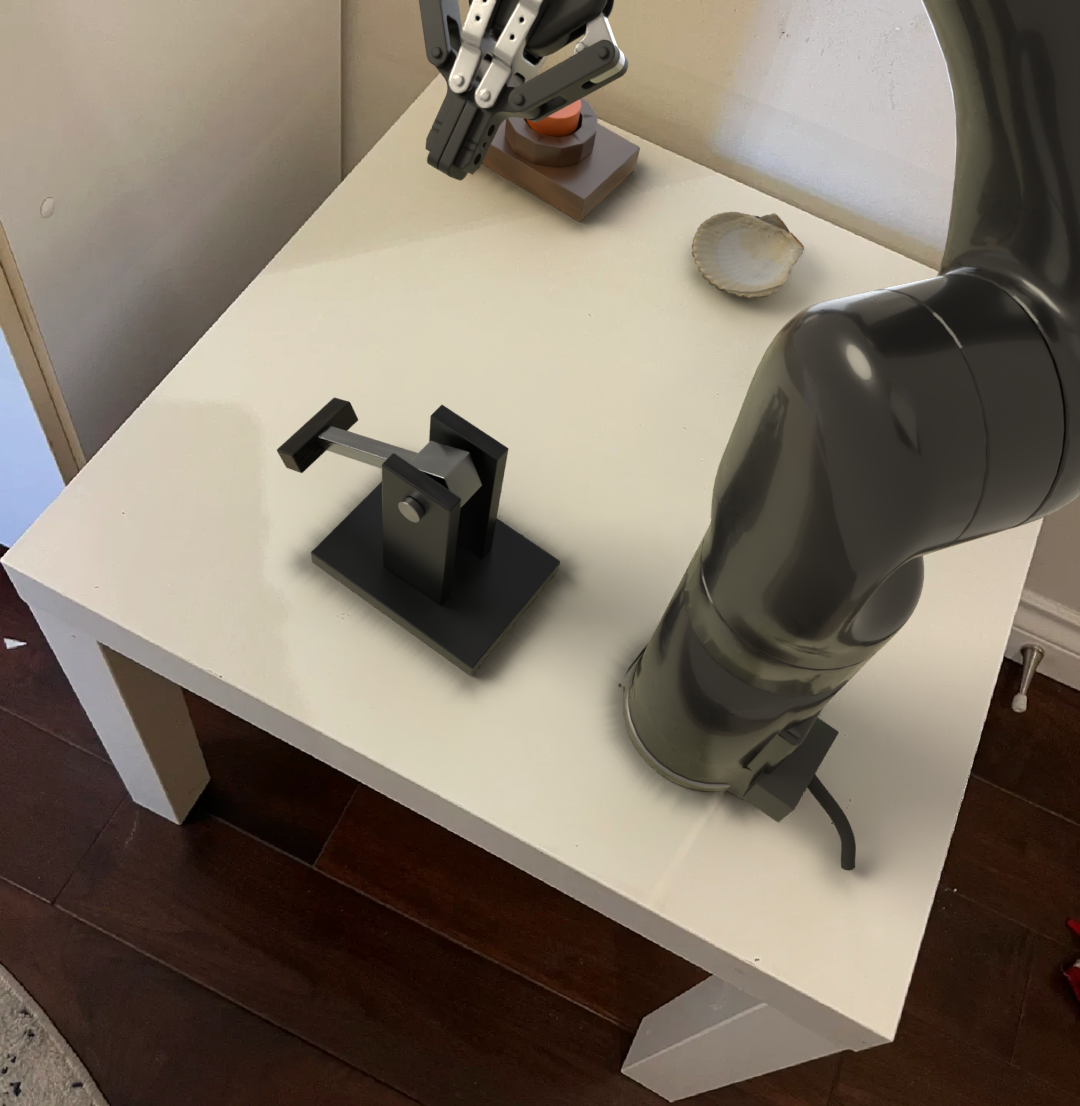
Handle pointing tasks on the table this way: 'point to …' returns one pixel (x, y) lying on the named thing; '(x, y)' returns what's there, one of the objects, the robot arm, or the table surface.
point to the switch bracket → (440, 551)
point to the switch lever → (376, 450)
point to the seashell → (745, 253)
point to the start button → (559, 121)
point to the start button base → (563, 162)
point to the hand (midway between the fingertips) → (444, 172)
